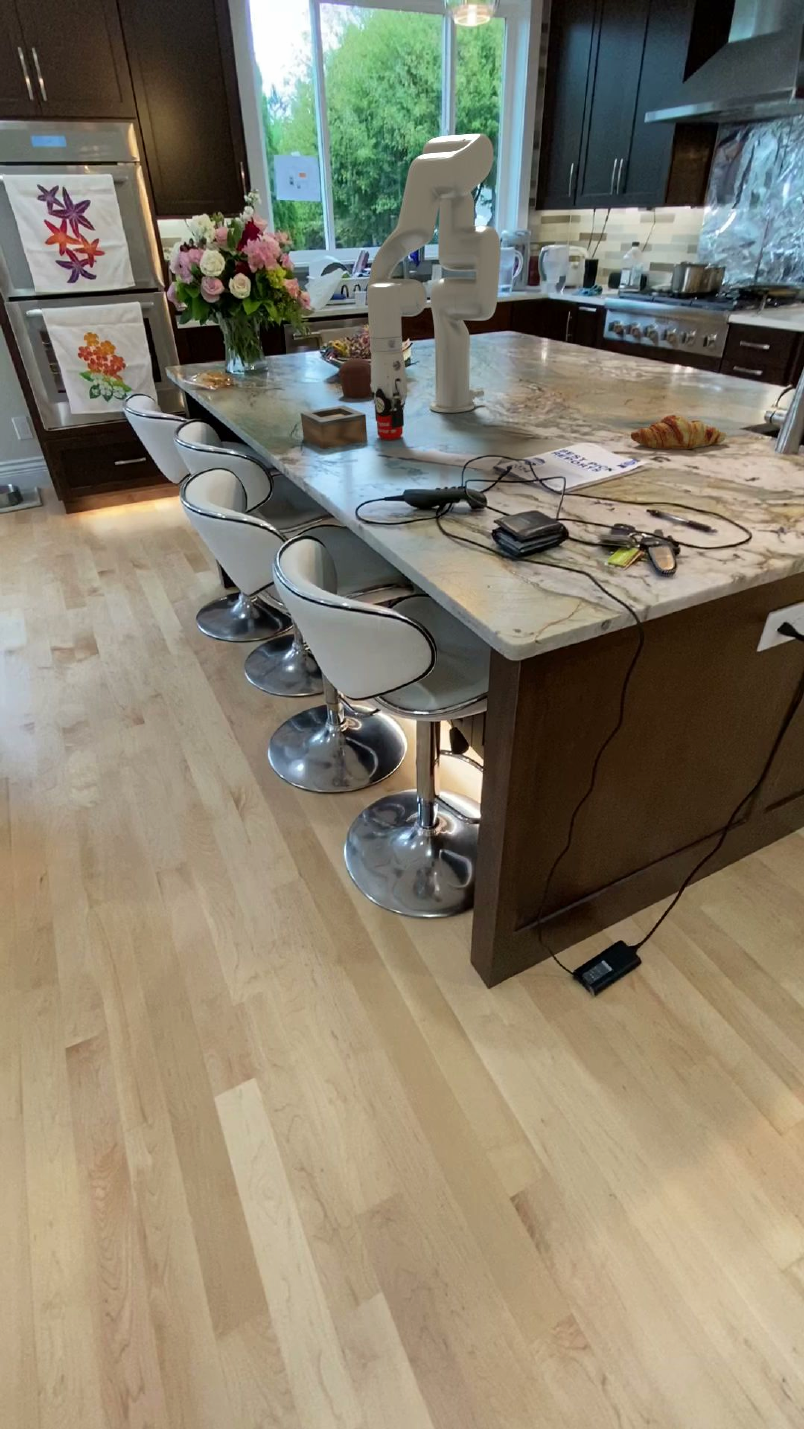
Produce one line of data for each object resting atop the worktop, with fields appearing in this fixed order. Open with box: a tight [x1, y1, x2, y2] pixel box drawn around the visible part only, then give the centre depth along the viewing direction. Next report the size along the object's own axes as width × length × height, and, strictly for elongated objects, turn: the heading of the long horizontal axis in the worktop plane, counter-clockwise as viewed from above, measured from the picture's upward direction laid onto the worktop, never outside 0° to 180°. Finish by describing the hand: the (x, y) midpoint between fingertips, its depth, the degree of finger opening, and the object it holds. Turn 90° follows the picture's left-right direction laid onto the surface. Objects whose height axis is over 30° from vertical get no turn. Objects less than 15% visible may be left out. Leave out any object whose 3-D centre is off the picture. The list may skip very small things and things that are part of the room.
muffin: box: [337, 357, 373, 399], centre depth 220 cm, size 12×11×10 cm
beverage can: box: [375, 387, 404, 441], centre depth 178 cm, size 6×6×12 cm
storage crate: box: [300, 404, 368, 450], centre depth 180 cm, size 12×12×6 cm
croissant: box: [630, 414, 727, 450], centre depth 166 cm, size 21×10×8 cm, turn 87°
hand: (389, 423), depth 180 cm, fingers open, 7 cm apart
